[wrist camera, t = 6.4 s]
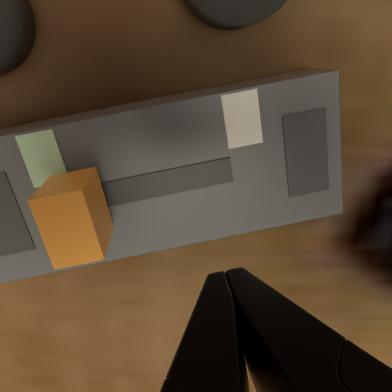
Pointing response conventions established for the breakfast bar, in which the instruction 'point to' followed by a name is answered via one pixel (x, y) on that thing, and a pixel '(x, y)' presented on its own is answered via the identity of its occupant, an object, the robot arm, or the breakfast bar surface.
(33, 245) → the grey flat block
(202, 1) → the coil
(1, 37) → the coil
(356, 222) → the breakfast bar surface
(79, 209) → the orange upright box
